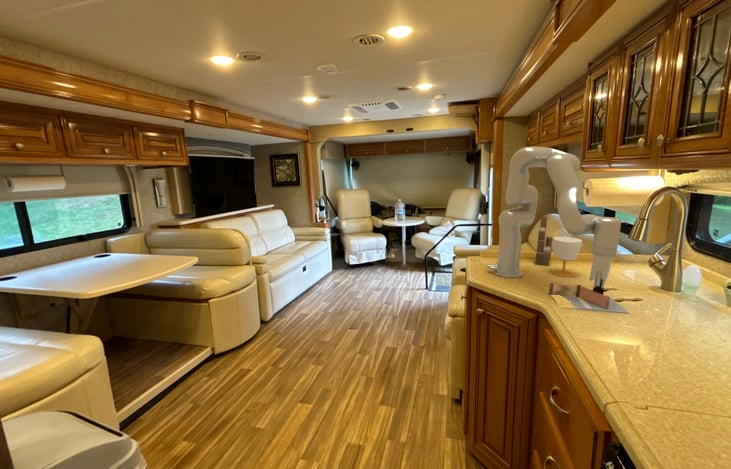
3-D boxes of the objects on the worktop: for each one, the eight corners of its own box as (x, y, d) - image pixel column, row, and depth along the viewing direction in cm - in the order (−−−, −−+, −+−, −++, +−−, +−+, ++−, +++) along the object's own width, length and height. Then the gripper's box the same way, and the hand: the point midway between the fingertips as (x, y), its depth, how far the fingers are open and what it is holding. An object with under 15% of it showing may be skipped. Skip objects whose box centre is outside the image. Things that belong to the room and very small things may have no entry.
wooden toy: (549, 266, 170) (554, 218, 165) (535, 264, 174) (539, 217, 169) (550, 259, 183) (555, 214, 178) (537, 257, 187) (541, 213, 182)
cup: (562, 269, 166) (565, 235, 162) (583, 276, 155) (588, 240, 151) (543, 271, 162) (547, 237, 159) (564, 279, 151) (569, 242, 148)
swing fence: (579, 296, 129) (580, 286, 128) (581, 296, 129) (582, 286, 129) (606, 308, 118) (608, 297, 118) (609, 308, 119) (610, 296, 118)
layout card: (559, 307, 121) (559, 306, 121) (548, 293, 134) (548, 292, 134) (628, 313, 116) (629, 312, 116) (610, 298, 129) (610, 297, 129)
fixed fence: (549, 294, 132) (550, 283, 131) (548, 293, 134) (549, 282, 133) (580, 297, 130) (581, 286, 129) (578, 295, 131) (580, 284, 130)
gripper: (594, 245, 130) (588, 289, 133) (588, 253, 119) (582, 301, 122) (618, 248, 125) (611, 294, 128) (614, 256, 114) (606, 306, 117)
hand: (597, 297), depth 125 cm, fingers closed
